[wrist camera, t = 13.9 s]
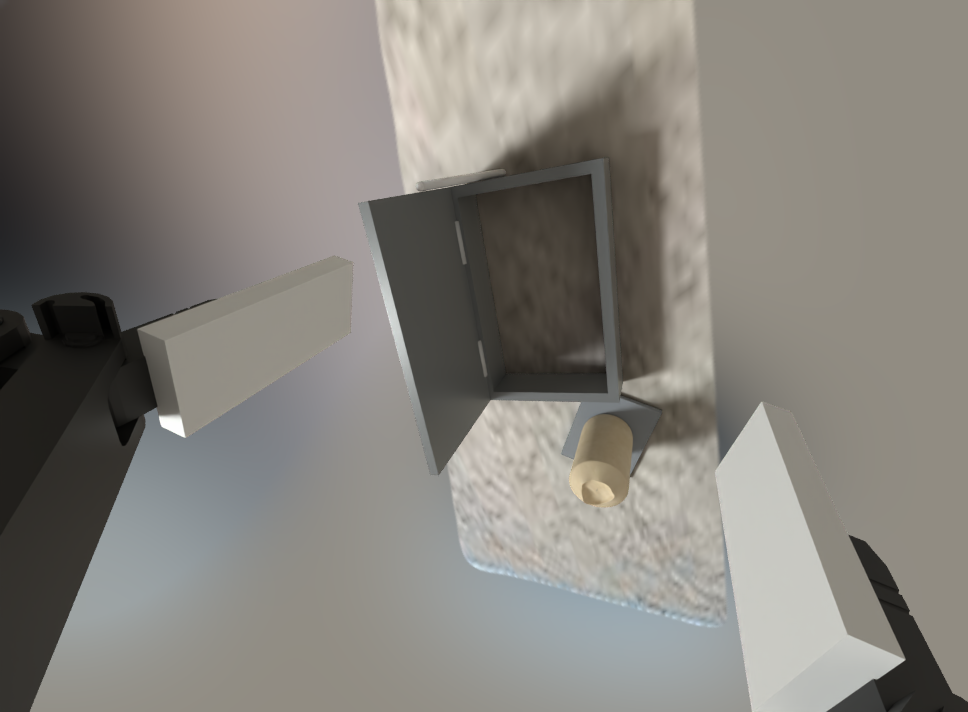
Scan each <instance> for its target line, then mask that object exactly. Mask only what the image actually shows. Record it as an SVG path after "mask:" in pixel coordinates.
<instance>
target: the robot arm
mask: <svg viewBox="0 0 968 712" xmlns="http://www.w3.org/2000/svg"><path fill="white" fill-rule="evenodd" d="M352 284H353V262H351V261H348V260H345V259H342V258H340V257H336V256H332V257H329V258H327V259H324V260H321V261H319V262H316V263H313V264H311V265H308V266H305V267H303V268H300V269H297V270H294V271H292V272H290V273H286V274H284V275H281V276H278V277H276V278H273V279H270V280H267V281H265V282H262V283H259V284H257V285H254V286H251V287H249V288H246V289H243V290H241V291H238V292H235V293H233V294H230V295H227V296H225V297H222V298H219V299H213V300H208V301H205V302H202V303H200V304H197V305H194V306H191V307H190V309H188V308H186V309H183V310H180V311H178V312H176V313H175V314H169V315H167V316H164V317H161V318H159V319H156V320H153V321H150V322H148V323H145V324H142V325H140V326H137V327H134V328H131V329H129V330H126V331H123V332H121V329H120V325H119V322H118V318H117V314H116V311H115V307H114V303H113V301H112V300H111V299H110V298H109V297H107V296H104V295H101V294H96V293H85V292H81V293H65V294H59V295H54V296H50V297H47V298H44V299H41V300H39V301H37V302H36V303H34V304H32V308H33V310H34V313H35V315H36V318H37V321H38V324H39V326H40V329H41V331H42V334H43V335H40V334H34V333H30V332H29V329H28V327H27V324H26V322H25V319H24V317H23V316H22V315H21V314H19V313H18V312H14V311H10V310H0V712H30V709H31V707H32V704H33V702H34V699H35V697H36V694H37V692H38V689H39V687H40V685H41V682H42V679H43V677H44V675H45V672H46V670H47V667H48V665H49V662H50V660H51V657H52V655H53V652H54V650H55V648H56V645H57V643H58V640H59V638H60V635H61V633H62V630H63V628H64V625H65V623H66V621H67V618H68V616H69V613H70V611H71V608H72V606H73V603H74V601H75V598H76V596H77V593H78V591H79V589H80V586H81V584H82V581H83V579H84V576H85V574H86V571H87V569H88V566H89V564H90V561H91V559H92V556H93V554H94V551H95V549H96V547H97V544H98V542H99V539H100V537H101V534H102V532H103V530H104V527H105V525H106V522H107V520H108V517H109V515H110V512H111V510H112V507H113V505H114V502H115V500H116V498H117V495H118V493H119V490H120V488H121V485H122V483H123V480H124V478H125V475H126V473H127V471H128V468H129V466H130V463H131V461H132V458H133V456H134V453H135V451H136V448H137V446H138V444H139V441H140V438H141V436H142V433H143V431H144V429H145V417H144V414H145V413H147V412H149V411H151V410H152V409H154V408H156V407H157V410H158V415H159V419H160V423H161V426H162V427H164V428H166V429H168V430H170V431H172V432H174V433H176V434H178V435H180V436H182V437H184V438H186V437H188V436H190V435H191V434H193V433H194V432H196V431H197V430H199V429H201V428H202V427H204V426H205V425H207V424H208V423H210V422H212V421H213V420H215V419H216V418H218V417H219V416H221V415H223V414H224V413H226V412H227V411H229V410H230V409H232V408H234V407H235V406H237V405H238V404H240V403H241V402H243V401H244V400H246V399H247V398H249V397H251V396H252V395H254V394H255V393H257V392H258V391H260V390H262V389H263V388H265V387H266V386H268V385H270V384H271V383H273V382H274V381H275V380H277V379H279V378H281V377H282V376H284V375H285V374H287V373H288V372H290V371H292V370H293V369H294V368H296V367H298V366H299V365H301V364H302V363H304V362H306V361H307V360H309V359H310V358H312V357H313V356H315V355H317V354H318V353H320V352H321V351H323V350H324V349H326V348H328V347H329V346H331V345H332V344H334V343H335V342H337V341H339V340H340V339H342V338H343V337H345V336H346V335H348V334H349V333H350V332H351V309H352ZM715 475H716V481H717V488H718V494H719V501H720V507H721V513H722V520H723V526H724V533H725V539H726V546H727V552H728V559H729V565H730V572H731V578H732V584H733V591H734V598H735V604H736V611H737V617H738V624H739V630H740V637H741V643H742V650H743V656H744V662H745V669H746V676H747V682H748V688H749V695H750V701H751V708H752V712H968V702H967V701H965V700H964V699H963V698H961V697H959V696H957V695H955V694H953V693H952V691H951V689H950V687H949V686H948V684H947V682H946V680H945V678H944V676H943V674H942V672H941V670H940V668H939V666H938V664H937V662H936V661H935V658H934V657H933V655H932V653H931V651H930V649H929V647H928V645H927V643H926V641H925V639H924V637H923V635H922V633H921V631H920V630H919V628H918V626H917V624H916V622H915V620H914V618H913V616H911V615H909V611H910V610H909V608H908V606H907V604H906V602H905V600H904V599H903V597H902V595H900V594H898V592H899V589H898V587H897V585H896V583H895V581H894V580H893V577H892V575H891V573H890V571H889V570H888V568H887V566H886V565H885V564H884V562H883V561H882V560H881V559H880V558H879V557H878V556H877V554H875V552H874V551H873V550H872V549H871V547H870V546H869V545H868V544H867V543H866V542H865V541H863V540H860V539H858V538H855V537H853V536H850V535H848V533H847V531H846V529H845V527H844V525H843V522H842V520H841V518H840V516H839V514H838V512H837V510H836V507H835V505H834V503H833V501H832V499H831V496H830V494H829V492H828V490H827V488H826V486H825V483H824V481H823V479H822V477H821V475H820V473H819V471H818V468H817V466H816V464H815V462H814V460H813V458H812V455H811V453H810V451H809V449H808V447H807V444H806V442H805V440H804V438H803V436H802V434H801V431H800V429H799V427H798V425H797V423H796V421H795V419H794V416H793V414H792V412H791V411H788V410H785V409H782V408H779V407H777V406H773V405H771V404H768V403H765V402H761V403H760V405H759V406H758V408H757V409H756V411H755V412H754V414H753V415H752V417H751V418H750V420H749V421H748V423H747V424H746V426H745V427H744V429H743V430H742V432H741V433H740V435H739V436H738V438H737V439H736V441H735V442H734V444H733V445H732V447H731V449H730V450H729V451H728V453H727V455H726V456H725V458H724V459H723V460H722V462H721V463H720V465H719V466H718V468H717V469H716V471H715Z"/></svg>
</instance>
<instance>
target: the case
mask: <svg viewBox="0 0 968 712" xmlns="http://www.w3.org/2000/svg"><path fill="white" fill-rule="evenodd" d="M587 174H591V177H592V190H593V203H594V216H595V229H596V242H597V255H598V268H599V281H600V295H601V308H602V321H603V334H604V347H605V360H606V373H570V374H506V371H505V365H504V359H503V353H502V347H501V341H500V335H499V329H498V324H497V318H496V312H495V306H494V300H493V294H492V288H491V282H490V276H489V271H488V265H487V259H486V253H485V247H484V241H483V235H482V229H481V224H480V218H479V212H478V206H477V200H476V194H481V193H487V192H492V191H498V190H503V189H509V188H515V187H520V186H526V185H531V184H537V183H543V182H548V181H554V180H559V179H565V178H571V177H576V176H582V175H587ZM505 175H506V171H505V170H504V169H497V170H491V171H485V172H478V173H472V174H466V175H459V176H453V177H447V178H440V179H434V180H428V181H421V182H418V183H417V184H416V189H417V190H418V191H425V192H419V193H413V194H407V195H401V196H396V197H390V198H384V199H378V200H372V201H367V202H361V203H358V205H359V209H360V213H361V216H362V220H363V224H364V227H365V231H366V235H367V238H368V243H369V246H370V250H371V254H372V258H373V261H374V265H375V269H376V272H377V276H378V280H379V284H380V288H381V291H382V295H383V299H384V303H385V306H386V310H387V314H388V318H389V321H390V325H391V329H392V333H393V337H394V340H395V344H396V347H397V352H398V355H399V359H400V363H401V366H402V370H403V374H404V378H405V381H406V385H407V389H408V392H409V397H410V400H411V404H412V408H413V412H414V415H415V419H416V423H417V427H418V431H419V434H420V438H421V442H422V445H423V449H424V453H425V456H426V460H427V464H428V468H429V472H430V475H439V474H440V473H441V471H442V470H443V468H444V467H445V465H446V464H447V463H448V461H449V460H450V458H451V457H452V455H453V454H454V452H455V451H456V449H457V448H458V447H459V445H460V444H461V442H462V441H463V439H464V438H465V436H466V435H467V433H468V432H469V431H470V429H471V428H472V426H473V425H474V423H475V422H476V420H477V419H478V417H479V416H480V415H481V413H482V412H483V410H484V409H485V407H486V406H487V404H488V403H489V401H490V400H517V401H562V402H607V403H619V402H620V396H621V390H622V384H623V375H622V359H621V343H620V327H619V310H618V294H617V278H616V261H615V245H614V229H613V213H612V196H611V180H610V164H609V157H606V158H600V159H595V160H590V161H584V162H579V163H574V164H569V165H563V166H558V167H553V168H548V169H542V170H537V171H532V172H527V173H521V174H516V175H511V176H506V177H504V176H505ZM499 177H501V178H499ZM493 178H495V179H493ZM488 179H490V180H488ZM482 180H485V181H482ZM476 181H480V182H476ZM471 182H474V183H471ZM465 183H469V184H465ZM459 184H464V185H459ZM454 185H459V186H454ZM448 186H453V187H448ZM443 187H448V188H443ZM437 188H442V189H437ZM431 189H436V190H431ZM426 190H430V191H426Z"/></svg>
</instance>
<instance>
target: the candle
mask: <svg viewBox="0 0 968 712" xmlns="http://www.w3.org/2000/svg"><path fill="white" fill-rule="evenodd" d="M632 446H633V435H632V431H631V429H630V427H629V426H628V424H627V423H626V422H625V421H624V420H622V419H621V418H619V417H617V416H614V415H609V414H600V415H596V416H593V417H592V418H590V419H589V420H588V421H587V422H586V423H585V425H584V427H583V429H582V432H581V436H580V440H579V443H578V447H577V450H576V454H575V458H574V461H573V465H572V469H571V472H570V476H569V483H570V486H571V489H572V491H573V492H574V493H575V495H576V496H577V497H578V498H580V499H581V500H582V501H584V502H585V503H586V504H589V505H592V506H596V507H612V506H615V505H618V504H619V503H621V502H622V501H623V500H624V499H625V498H626V496H627V494H628V490H629V479H630V468H631V457H632Z"/></svg>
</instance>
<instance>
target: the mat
mask: <svg viewBox="0 0 968 712" xmlns="http://www.w3.org/2000/svg"><path fill="white" fill-rule="evenodd" d="M600 414H609V415H614V416H617V417H619V418H621V419H622V420H624V421H625V422H626V423H627V424H628V426H629V427H630V429H631V431H632V435H633V446H632V457H631V468H630V474H631V473H632V471H633V469H634V467H635V465H636V463H637V461H638V459H639V457H640V455H641V453H642V451H643V449H644V447H645V445H646V443H647V441H648V439H649V437H650V435H651V433H652V431H653V430H654V428H655V426H656V424H657V422H658V420H659V418H660V416H661V414H662V410H660V409H657V408H654V407H651V406H649V405H646V404H643V403H641V402H638V401H635V400H632V399H630V398H627V397H624V396H620V402H619V403H607V402H581V404H580V406H579V409H578V412H577V414H576V417H575V419H574V422H573V424H572V427H571V430H570V432H569V435H568V437H567V440H566V442H565V445H564V447H563V450H562V453H561V454H562V455H564V456H566V457H569V458H571V459H574V458H575V454H576V450H577V447H578V443H579V440H580V436H581V432H582V429H583V427H584V425H585V423H586V422H587V421H588V420H589V419H590V418H592V417H593V416H596V415H600Z"/></svg>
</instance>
